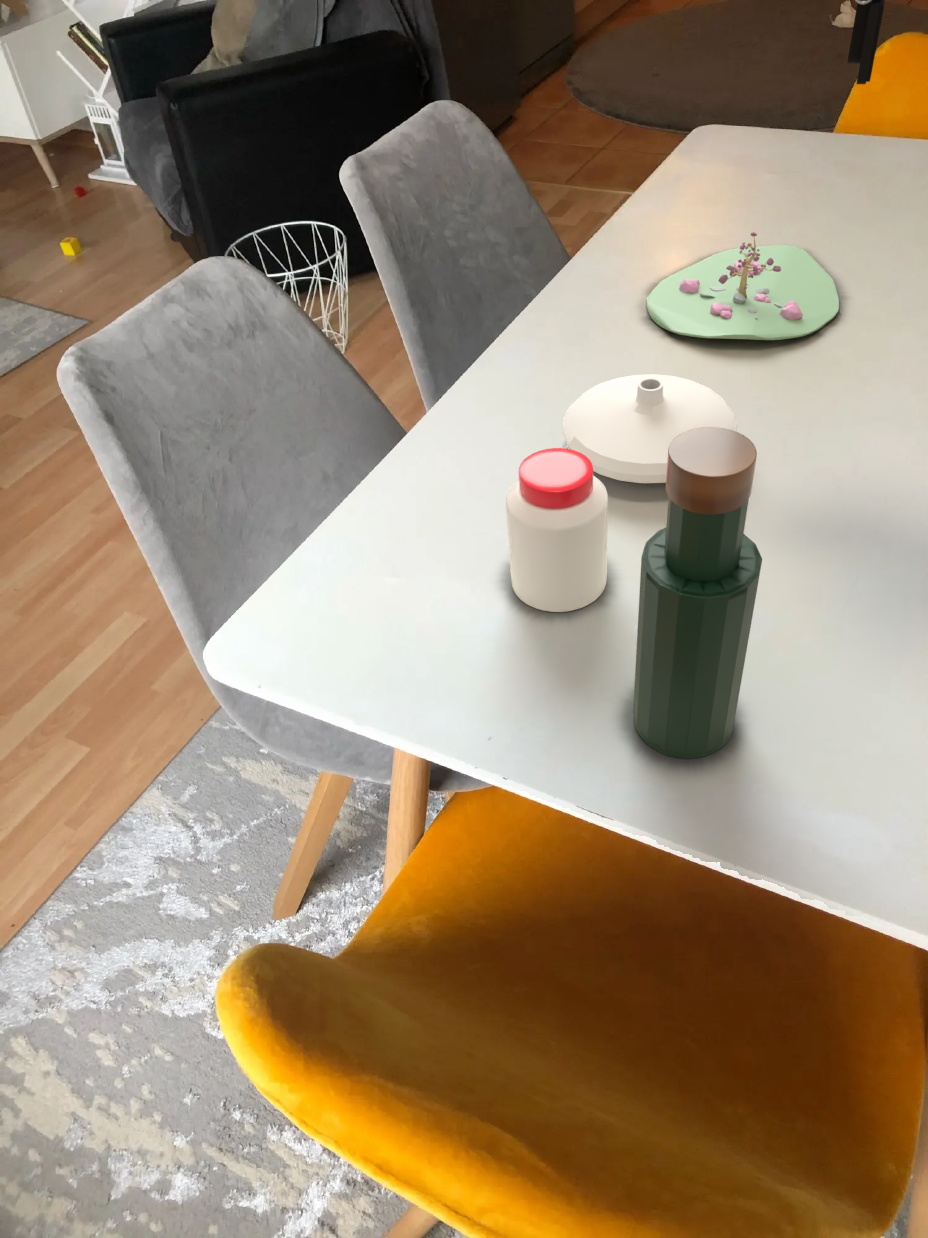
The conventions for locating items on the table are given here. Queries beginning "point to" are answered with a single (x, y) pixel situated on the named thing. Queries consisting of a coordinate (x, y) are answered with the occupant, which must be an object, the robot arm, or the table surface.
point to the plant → (747, 295)
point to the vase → (640, 423)
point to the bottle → (693, 630)
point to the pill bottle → (557, 531)
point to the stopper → (710, 470)
